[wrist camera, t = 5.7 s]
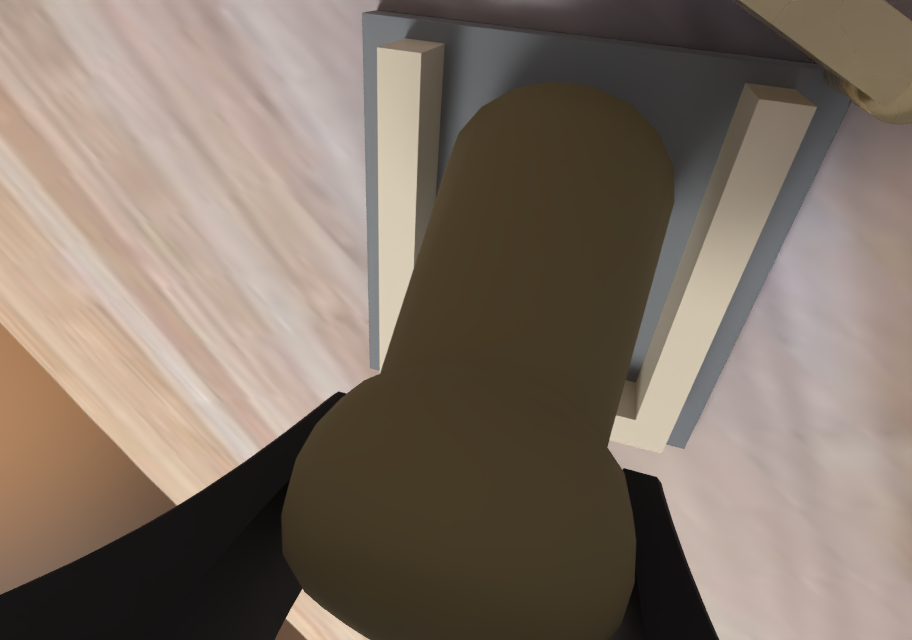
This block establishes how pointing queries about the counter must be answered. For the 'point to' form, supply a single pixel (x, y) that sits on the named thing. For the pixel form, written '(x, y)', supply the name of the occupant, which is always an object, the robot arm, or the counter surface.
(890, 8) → the bar
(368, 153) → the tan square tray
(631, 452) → the counter surface
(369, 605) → the brown rounded piece
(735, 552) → the counter surface
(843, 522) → the counter surface
